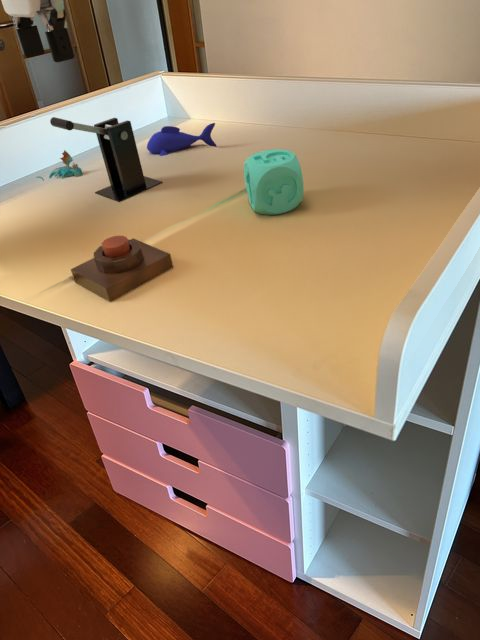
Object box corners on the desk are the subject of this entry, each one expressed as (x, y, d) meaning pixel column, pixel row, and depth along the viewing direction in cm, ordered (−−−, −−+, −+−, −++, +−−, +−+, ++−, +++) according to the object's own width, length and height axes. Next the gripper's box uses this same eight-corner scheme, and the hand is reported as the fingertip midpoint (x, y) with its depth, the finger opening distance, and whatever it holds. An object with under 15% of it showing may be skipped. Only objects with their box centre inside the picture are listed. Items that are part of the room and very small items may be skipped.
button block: (110, 302, 75) (101, 276, 73) (75, 282, 81) (66, 258, 78) (173, 267, 81) (167, 242, 79) (136, 251, 86) (130, 227, 84)
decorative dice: (247, 200, 97) (241, 154, 92) (292, 191, 98) (288, 145, 93) (257, 219, 91) (251, 170, 86) (305, 209, 92) (302, 160, 87)
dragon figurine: (46, 188, 109) (77, 161, 110) (26, 167, 112) (57, 141, 113) (62, 207, 115) (92, 181, 116) (44, 187, 118) (73, 162, 119)
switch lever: (65, 132, 90) (66, 116, 89) (49, 128, 93) (50, 113, 92) (128, 143, 99) (130, 129, 98) (112, 139, 102) (114, 125, 101)
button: (114, 261, 77) (110, 250, 76) (100, 254, 79) (96, 243, 78) (135, 250, 78) (132, 239, 77) (121, 244, 81) (117, 233, 80)
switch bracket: (120, 207, 101) (100, 134, 93) (96, 198, 105) (75, 128, 97) (164, 187, 106) (148, 117, 98) (139, 179, 111) (122, 112, 103)
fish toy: (151, 169, 119) (143, 141, 113) (148, 146, 123) (140, 119, 117) (221, 157, 120) (217, 129, 114) (215, 135, 124) (211, 107, 118)
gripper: (-43, -75, 79) (3, 59, 90) (7, -85, 69) (53, 68, 79) (7, -80, 83) (46, 49, 94) (62, -90, 73) (99, 56, 83)
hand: (49, 58), depth 86 cm, fingers open, 9 cm apart
